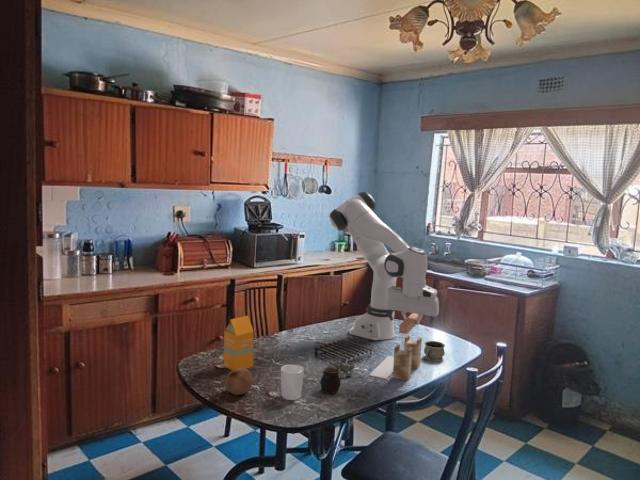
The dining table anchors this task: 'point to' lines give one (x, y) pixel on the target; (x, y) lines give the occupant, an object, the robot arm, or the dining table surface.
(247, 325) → the orange juice
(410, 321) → the rail
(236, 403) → the dining table surface
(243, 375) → the onion
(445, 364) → the dining table surface
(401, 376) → the post near
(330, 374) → the mate gourd
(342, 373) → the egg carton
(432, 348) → the vessel
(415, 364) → the post far
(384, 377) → the mat
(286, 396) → the white cup
